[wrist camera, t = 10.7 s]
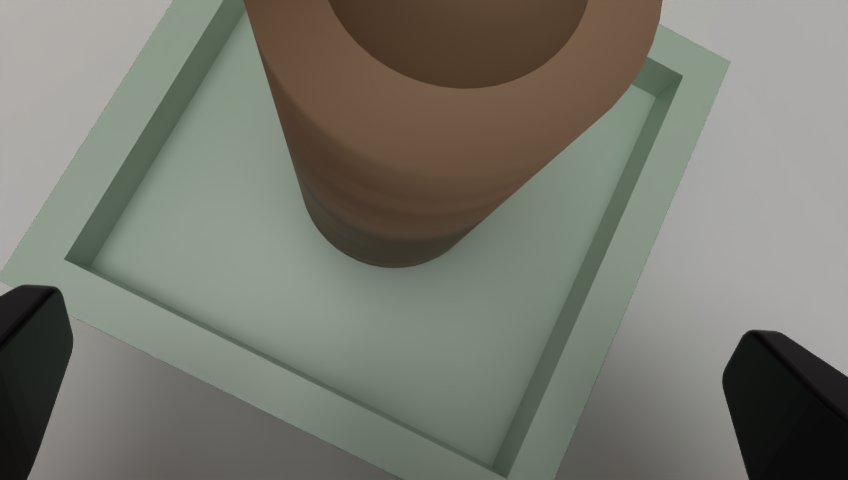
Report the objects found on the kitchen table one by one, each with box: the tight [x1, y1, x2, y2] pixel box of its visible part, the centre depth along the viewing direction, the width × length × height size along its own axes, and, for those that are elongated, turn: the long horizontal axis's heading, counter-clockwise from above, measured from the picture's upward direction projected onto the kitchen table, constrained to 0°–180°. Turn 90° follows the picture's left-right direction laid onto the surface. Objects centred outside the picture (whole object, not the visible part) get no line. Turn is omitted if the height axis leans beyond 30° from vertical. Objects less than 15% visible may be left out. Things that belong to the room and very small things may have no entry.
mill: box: [243, 0, 662, 268], centre depth 12 cm, size 5×5×11 cm
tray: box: [0, 0, 730, 480], centre depth 17 cm, size 13×13×2 cm
